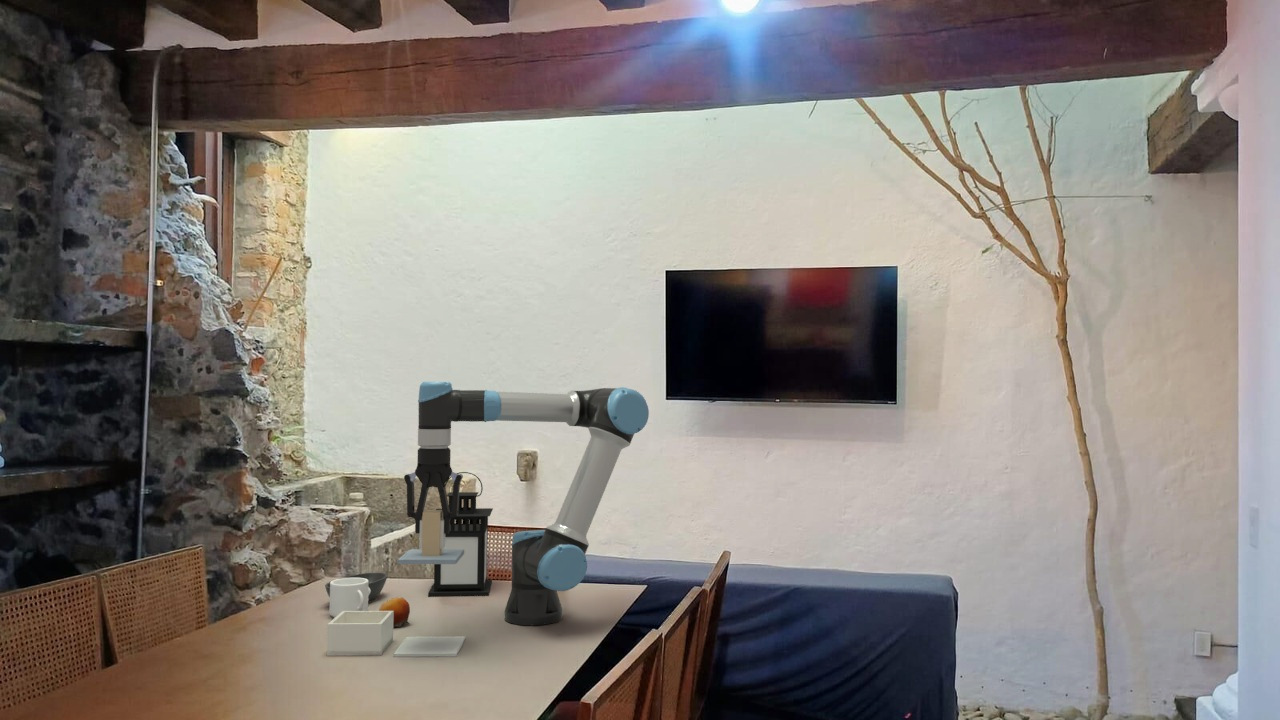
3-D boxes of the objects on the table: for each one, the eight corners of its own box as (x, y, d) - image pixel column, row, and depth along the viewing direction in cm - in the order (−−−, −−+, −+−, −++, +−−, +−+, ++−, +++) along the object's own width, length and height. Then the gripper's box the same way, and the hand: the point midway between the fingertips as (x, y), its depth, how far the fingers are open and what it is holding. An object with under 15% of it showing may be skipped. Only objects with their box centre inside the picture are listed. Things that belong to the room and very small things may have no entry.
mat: (465, 638, 212) (465, 636, 212) (456, 656, 198) (456, 653, 198) (406, 639, 211) (406, 636, 211) (393, 656, 197) (393, 653, 197)
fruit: (407, 624, 219) (393, 596, 220) (382, 639, 220) (367, 611, 221) (422, 616, 226) (407, 589, 228) (397, 631, 228) (383, 603, 229)
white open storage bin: (393, 640, 210) (393, 610, 210) (380, 655, 198) (381, 623, 198) (342, 640, 209) (342, 610, 209) (326, 655, 197) (327, 624, 197)
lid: (464, 553, 212) (465, 507, 212) (455, 564, 199) (456, 515, 199) (409, 553, 211) (410, 507, 212) (397, 564, 198) (398, 515, 199)
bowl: (398, 595, 256) (398, 574, 256) (348, 613, 235) (349, 590, 236) (363, 592, 260) (363, 571, 260) (312, 609, 239) (312, 586, 240)
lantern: (428, 597, 255) (430, 475, 256) (435, 584, 272) (437, 470, 273) (488, 596, 256) (490, 475, 258) (491, 583, 274) (493, 470, 275)
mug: (381, 616, 232) (382, 582, 232) (345, 624, 224) (346, 588, 224) (358, 608, 240) (359, 575, 240) (322, 615, 232) (323, 581, 233)
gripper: (473, 446, 210) (471, 544, 209) (400, 445, 209) (398, 544, 208) (468, 448, 203) (466, 550, 202) (393, 447, 202) (391, 550, 201)
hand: (432, 547), depth 205 cm, fingers closed on lid, 4 cm apart
